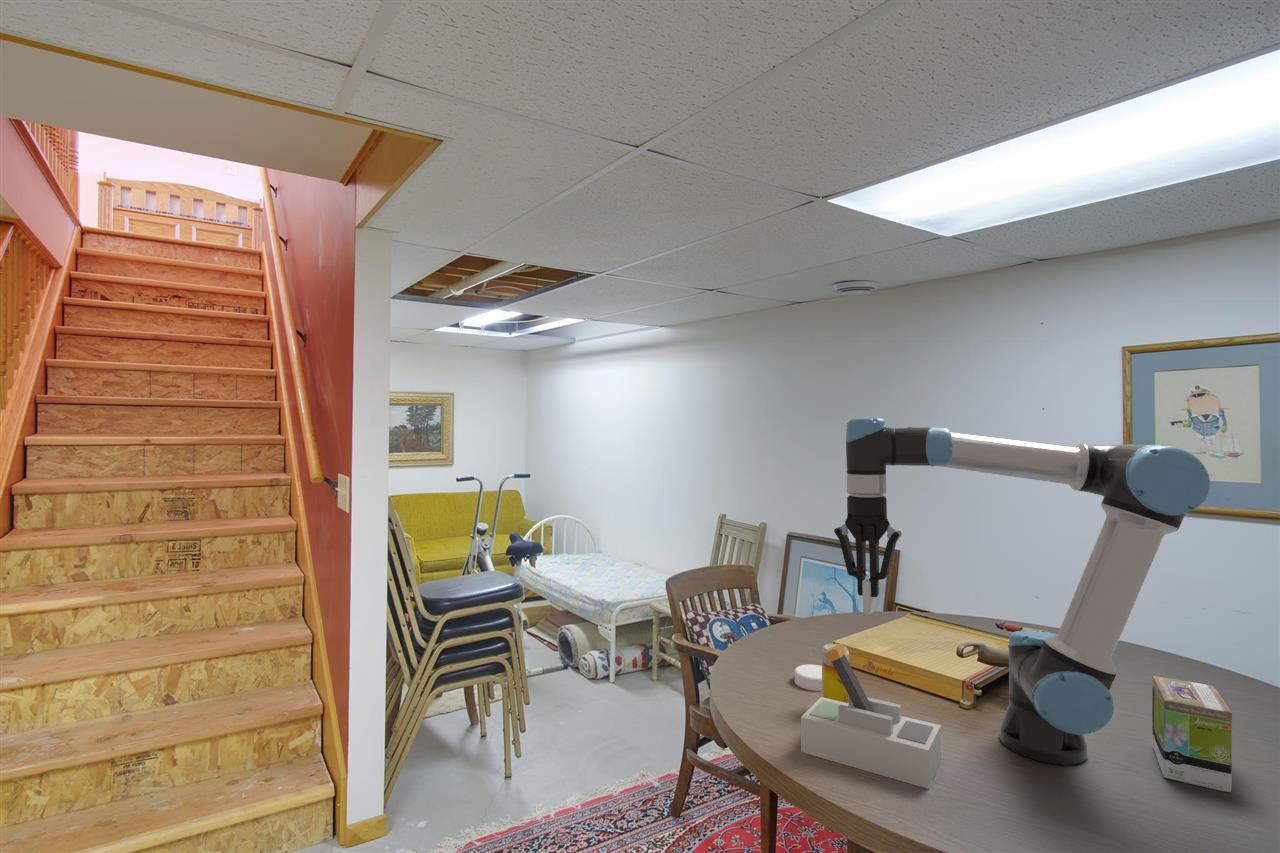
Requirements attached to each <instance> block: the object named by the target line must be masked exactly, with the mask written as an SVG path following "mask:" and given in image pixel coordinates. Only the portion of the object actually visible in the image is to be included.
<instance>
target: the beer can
mask: <svg viewBox="0 0 1280 853" xmlns="http://www.w3.org/2000/svg"><path fill="white" fill-rule="evenodd" d="M839 644H840V643H839ZM839 644H838V643H827V644H824V645H823V648H822V650H821V666H822V691H821V697H823V698H827V699H832V700H836V701H840V702H844V703H848V696H849V695H848V693H847V691H846V689H845V687H844V685H843V683H842V682H841V680H840V678H839V676H838V674H837V672H836V670H835V668H834V666H833V664H832V662H828V660H827V658H826V656H825V654H824V653H825V652H826V651H827V650H828V649H829V648H831V647H834V646H836V645H839ZM843 647H844V649H845V651H846V654H844V655H845V657H846V658H847V660H848V662H849V663H850V652H849V649H848V647H847V646H846V645H843Z"/></svg>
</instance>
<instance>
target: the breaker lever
mask: <svg viewBox="0 0 1280 853" xmlns="http://www.w3.org/2000/svg"><path fill="white" fill-rule="evenodd" d="M842 643H843V642H842ZM842 643H839V645H836V646H834V647H831V648H829V649H828V650H827V651H826V652H825V653H824V654H825V656H826V658H827V660H828V662H832V664H833V666H834V668H835V670H836V672H837V674H838V676H839V678H840V680H841V682H842V683H843V685H844V687H845V689H846V691H847V693H848V695H849V697H850V699H851V701H852V703H853V705H854V707H855V708H858V709H862V710H866V711H870V712H874V710H873V708H872V706H871V704H870V702H869V700H868V699H867V697H868V696H867V695H866V693H865V691H864V689H863V687H862V686H861V684H860V681H859V680H858V677H857V676H856V674H855V672H854V671H853V668H852V665H851V664H850V661H849V662H848V660H847V658H846V657H845V655H844V654H846V651H845V649H844V647H843V646H844V645H843V644H842Z"/></svg>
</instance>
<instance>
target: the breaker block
mask: <svg viewBox="0 0 1280 853" xmlns="http://www.w3.org/2000/svg"><path fill="white" fill-rule="evenodd" d="M866 697H867V699H868V700H869V702H870V704H871V706H872V708H873V710H874V712H870V711H866V710H862V709H858V708H855V707H854V705H853V703H852V701H851V699H850V697H849V696H848V703H844V702H840V701H836V700H832V699H827V698H823V697H822V696H821V697H819V698H818V700H816V701H815V703H814V704H813V705H811V706H810V707H809V708H808V709H807V710H806V711H805V712H804V714H802V715H801V717H800V752H801V753H804V754H806V755H807V754H808V755H811V756H814V757H818V758H821V759H824V760H828V761H831V762H833V763H834V762H835V763H837V764H841V765H846V766H847V767H852V768H856V769H857V770H858V769H859V770H861V771H865V772H869V773H872V774H875V775H876V774H877V775H879V776H883V777H886V778H889V779H894V780H896V781H900V782H903V783H906V784H910V785H914V786H917V787H920V788H924V789H926V790H930V787H931V785H932V782H933V781H934V778H935V776H936V774H937V772H938V770H939V768H940V765H941V762H942V725H941V724H937V723H933V722H929V721H924V720H920V719H915V718H912V717H907V716H903V715H902V704H899V703H895V702H890V701H887V700H882V699H876V698H873V697H868V696H866Z"/></svg>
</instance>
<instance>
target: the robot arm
mask: <svg viewBox="0 0 1280 853" xmlns="http://www.w3.org/2000/svg"><path fill="white" fill-rule="evenodd" d="M845 430H846V432H845V434H846V436H845V437H846V438H845V450H846V455H845V456H846V457H845V458H846V492H847V493H848V494H849V495H848V496H847V497H846V501H847V502H846V508H847V509H846V511H847V512H846V513H847V515H846V516H847V517H846V518H845V521H844V524H842V525H840V526H838V527H835V528H834V530H833V532H834V534H835V535H836V537H837V538H838V540H839V544H840V547H841V553H842V555H843V556H842V557H843V560H844V564H845V568H846V572H847V574H848V575H849V576H851V577H854V578H855V579H856V582H857V595H858V596H862V614H864V615H871V614H873V613H874V612H875V598H878V596H879V594H880V588H879V586H880V584H879V583H880V580H885V579H887V577H889V574H890V570H891V565H892V561H893V557H894V553H895V548H896V545H897V542H898V541H899V539H900V538H901V536H902V532H901V530H896V529H894V528H893V527H892V526H891V523H890V521H889V519H888V508H887V507H888V505H887V503H888V502H887V501H888V500H887V497H886V496H884V495H885V494H887V470H886V469H887V466H917V467H921V466H924V467H926V466H927V467H928V466H929V467H940V468H941V467H943V468H948V469H958V470H965V471H970V472H979V473H985V474H991V475H999V476H1006V477H1014V478H1020V479H1021V478H1022V479H1026V480H1034V481H1035V480H1036V481H1041V482H1042V481H1043V482H1049V483H1057V484H1062V485H1069V487H1070V488H1071V489H1072V490H1073V491H1076V492H1077V491H1078V492H1085V493H1089V494H1095V495H1098V496H1101V497H1103V499H1102V502H1101V504H1100V507H1101V508H1102V510H1103V511H1104V513H1105V516H1106V518H1105V520H1104V523H1103V525H1102V526H1101V529H1100V531H1099V534H1098V537H1097V539H1096V542H1095V543H1094V546H1093V549H1092V551H1091V553H1090V556H1089V558H1088V561H1087V564H1086V566H1085V567H1084V570H1083V572H1082V575H1081V578H1080V580H1079V583H1078V585H1077V587H1076V590H1075V592H1074V594H1073V597H1072V599H1071V601H1070V604H1069V607H1068V609H1067V611H1066V613H1065V616H1064V617H1063V621H1062V623H1061V625H1060V627H1059V630H1058V632H1057V633H1053V632H1045V631H1037V630H1018V631H1016V630H1015V631H1013V632H1011V633H1010V635H1009V638H1008V644H1007V648H1008V675H1009V676H1008V685H1009V687H1008V688H1009V689H1008V690H1009V694H1008V696H1009V700H1008V701H1009V702H1008V705H1007V707H1006V710H1005V713H1004V715H1003V719H1002V720H1001V723H1000V727H999V734H1000V735H999V739H1000V741H1001V743H1002V744H1003V745H1004V746H1005V747H1007V748H1008V749H1010V750H1011V751H1012V752H1014V753H1016V754H1019V755H1020V756H1023V757H1025V758H1028V759H1032V760H1034V761H1038V762H1042V763H1046V764H1053V765H1064V766H1065V765H1068V766H1069V765H1076V764H1082V763H1083V762H1085V761H1086V760H1087V758H1088V745H1087V742H1086V738H1085V736H1084V735H1089V734H1092V733H1094V734H1095V733H1096V732H1098V731H1100V730H1102V729H1104V728H1105V727H1106V726H1107V725H1108V724H1109V722H1111V719H1112V718H1113V714H1114V711H1115V710H1114V708H1115V707H1114V701H1113V696H1112V694H1111V692H1110V690H1111V688H1112V685H1113V683H1114V680H1115V678H1116V676H1117V674H1118V670H1117V669H1116V667H1115V664H1114V663H1113V660H1112V657H1113V655H1114V653H1115V650H1116V647H1117V645H1118V644H1119V640H1120V639H1121V636H1122V634H1123V631H1124V629H1125V627H1126V624H1127V622H1128V619H1129V617H1130V615H1131V612H1132V610H1133V608H1134V606H1135V604H1136V601H1137V599H1138V596H1139V594H1140V592H1141V590H1142V587H1143V585H1144V583H1145V580H1146V578H1147V575H1148V573H1149V571H1150V568H1151V566H1152V563H1153V562H1154V559H1155V556H1156V554H1157V552H1158V550H1159V548H1160V545H1161V543H1162V540H1163V538H1164V537H1165V535H1169V534H1172V533H1174V532H1178V531H1179V529H1180V527H1181V524H1182V522H1183V521H1184V518H1185V515H1186V514H1187V513H1191V512H1192V511H1194V510H1196V509H1197V508H1199V507H1200V506H1201V505H1203V503H1204V502H1205V501H1206V499H1207V497H1208V495H1209V492H1210V487H1211V482H1210V481H1211V480H1210V475H1209V472H1208V470H1207V469H1206V467H1205V466H1204V464H1203V462H1202V461H1201V460H1200V459H1199V458H1198V457H1197V456H1195V455H1194V454H1193V453H1191V452H1190V451H1187V450H1185V449H1183V448H1180V447H1176V446H1172V445H1166V444H1163V443H1162V444H1161V443H1159V444H1157V443H1155V444H1139V443H1127V444H1125V443H1124V444H1090V443H1083V442H1081V443H1078V444H1076V445H1075V446H1074V447H1073V446H1065V445H1056V444H1050V443H1040V442H1032V441H1025V440H1017V439H1016V440H1014V439H1009V438H1008V439H1007V438H998V437H990V436H985V435H984V436H982V435H974V434H967V433H957V432H952V431H951V430H950V429H949V428H947V427H935V426H930V427H929V426H928V427H909V426H908V427H898V428H897V427H896V428H895V427H887V424H886V420H885V419H884V418H852V419H850V420H849V421H848V422H847V423H846V429H845ZM849 532H850V534H851V536H853V538H854V539H855V541H854V542H855V546H856V548H855V551H856V552H855V553H856V559H854V554H853V551H852V546H851V541H850V538H849ZM885 533H887V534H886V538H887V539H888V540H887V542H886V545H885V549H884V555H883V558H882V561H881V562H882V563H881V566H880V550H879V549H880V547H879V546H880V540H881V539H882V538H883V536H884V534H885ZM867 542H868V548H869V549H868V552H869V556H868V557H869V578H866V577H867V576H868V574H867V563H866V562H867V559H866V558H867V556H866V554H867V552H866V551H867V548H866V544H867ZM855 560H856V561H855Z"/></svg>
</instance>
